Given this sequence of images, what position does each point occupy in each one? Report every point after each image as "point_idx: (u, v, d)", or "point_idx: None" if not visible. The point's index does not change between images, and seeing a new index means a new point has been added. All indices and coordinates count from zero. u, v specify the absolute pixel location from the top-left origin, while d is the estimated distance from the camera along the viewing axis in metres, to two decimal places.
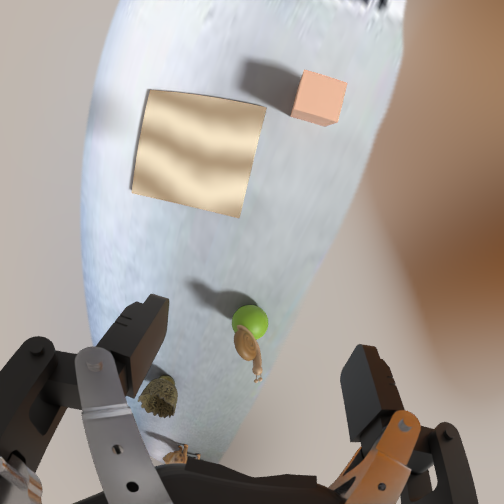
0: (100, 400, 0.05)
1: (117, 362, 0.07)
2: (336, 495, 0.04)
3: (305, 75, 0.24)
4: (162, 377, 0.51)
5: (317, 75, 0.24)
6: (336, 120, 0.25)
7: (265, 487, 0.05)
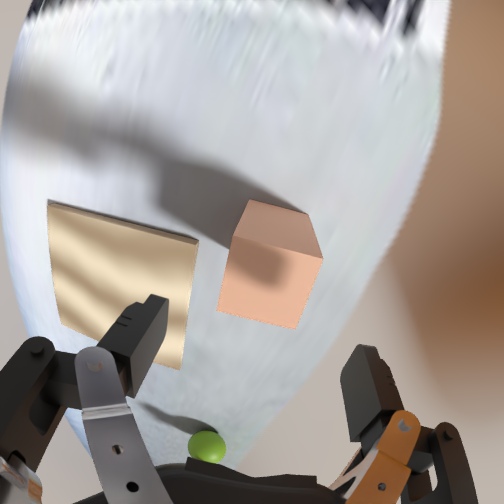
0: (100, 400, 0.05)
1: (117, 362, 0.07)
2: (336, 495, 0.04)
3: (235, 248, 0.14)
4: None
5: (260, 247, 0.14)
6: (293, 327, 0.15)
7: (265, 486, 0.05)
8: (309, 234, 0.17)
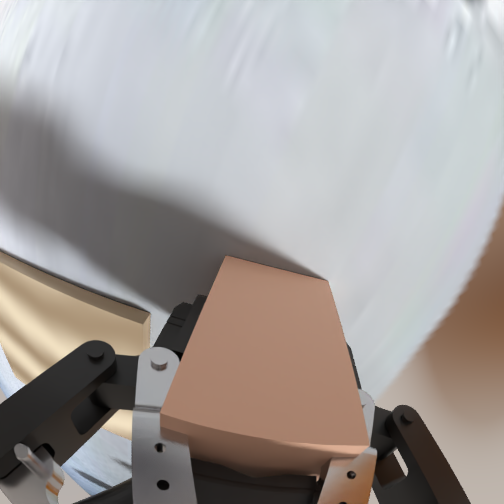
0: None
1: None
2: None
3: None
4: None
5: (227, 437, 0.05)
6: None
7: (265, 486, 0.05)
8: (336, 352, 0.08)
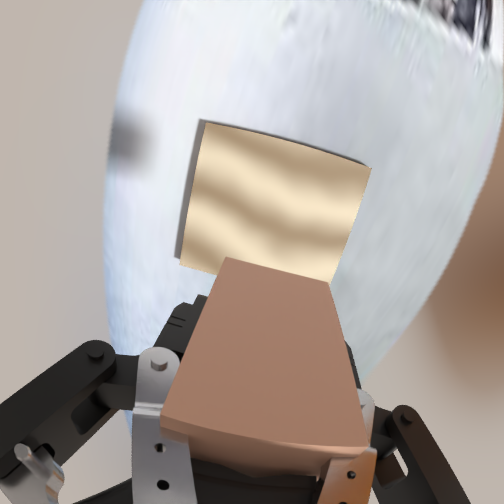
0: None
1: None
2: None
3: None
4: None
5: (227, 438, 0.05)
6: None
7: (265, 486, 0.05)
8: (336, 354, 0.08)
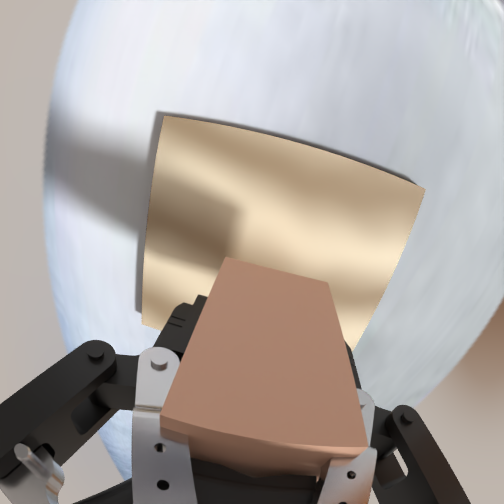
0: None
1: None
2: None
3: None
4: None
5: (227, 438, 0.05)
6: None
7: (265, 486, 0.05)
8: (336, 354, 0.08)
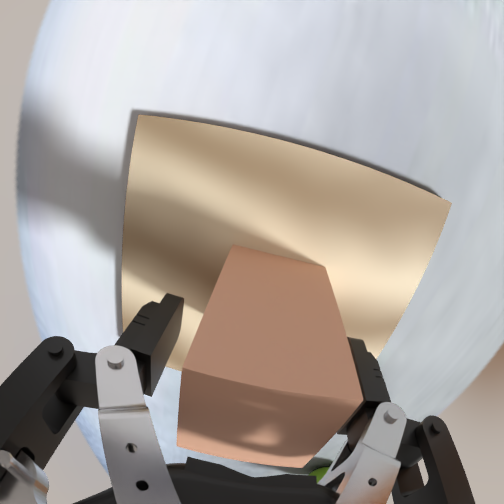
0: (124, 398, 0.06)
1: (137, 361, 0.08)
2: None
3: (191, 385, 0.06)
4: None
5: (240, 388, 0.06)
6: (299, 466, 0.08)
7: (265, 486, 0.05)
8: (332, 324, 0.09)
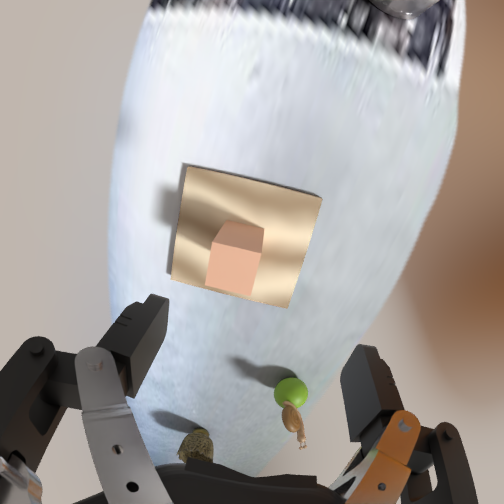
0: (100, 400, 0.05)
1: (117, 362, 0.07)
2: (336, 495, 0.04)
3: (213, 248, 0.26)
4: (197, 430, 0.49)
5: (227, 247, 0.26)
6: (249, 294, 0.27)
7: (265, 486, 0.05)
8: (258, 240, 0.29)
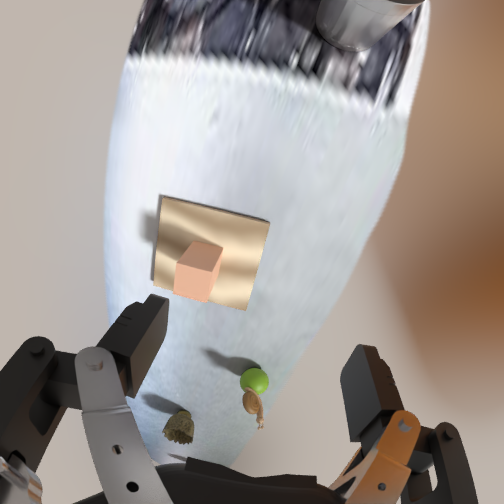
0: (100, 400, 0.05)
1: (117, 362, 0.07)
2: (336, 495, 0.04)
3: (177, 267, 0.34)
4: (181, 412, 0.59)
5: (186, 267, 0.34)
6: (205, 301, 0.36)
7: (265, 486, 0.05)
8: (214, 260, 0.37)
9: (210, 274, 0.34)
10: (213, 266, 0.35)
